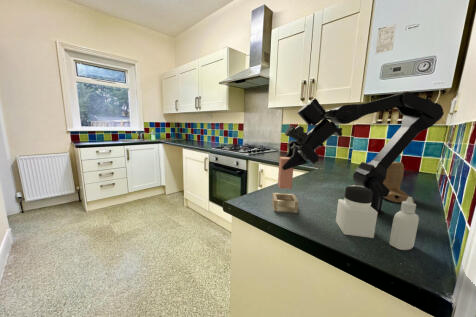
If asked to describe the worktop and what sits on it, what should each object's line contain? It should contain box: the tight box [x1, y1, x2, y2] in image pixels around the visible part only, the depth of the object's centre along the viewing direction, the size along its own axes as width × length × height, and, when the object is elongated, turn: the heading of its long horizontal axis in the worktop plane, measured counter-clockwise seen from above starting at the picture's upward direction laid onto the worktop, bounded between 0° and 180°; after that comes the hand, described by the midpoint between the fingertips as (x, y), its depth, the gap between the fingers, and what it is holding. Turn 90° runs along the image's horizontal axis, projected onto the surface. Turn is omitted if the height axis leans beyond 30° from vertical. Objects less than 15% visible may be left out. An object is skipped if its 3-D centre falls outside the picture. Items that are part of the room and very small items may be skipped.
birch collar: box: [271, 192, 299, 214], centre depth 65 cm, size 8×8×4 cm
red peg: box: [277, 156, 294, 190], centre depth 64 cm, size 4×4×10 cm
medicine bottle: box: [335, 184, 379, 239], centre depth 51 cm, size 7×7×12 cm
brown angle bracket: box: [383, 161, 415, 204], centre depth 77 cm, size 15×12×15 cm
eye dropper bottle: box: [389, 196, 420, 251], centre depth 44 cm, size 4×6×12 cm
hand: (281, 167), depth 64 cm, fingers closed on red peg, 4 cm apart
